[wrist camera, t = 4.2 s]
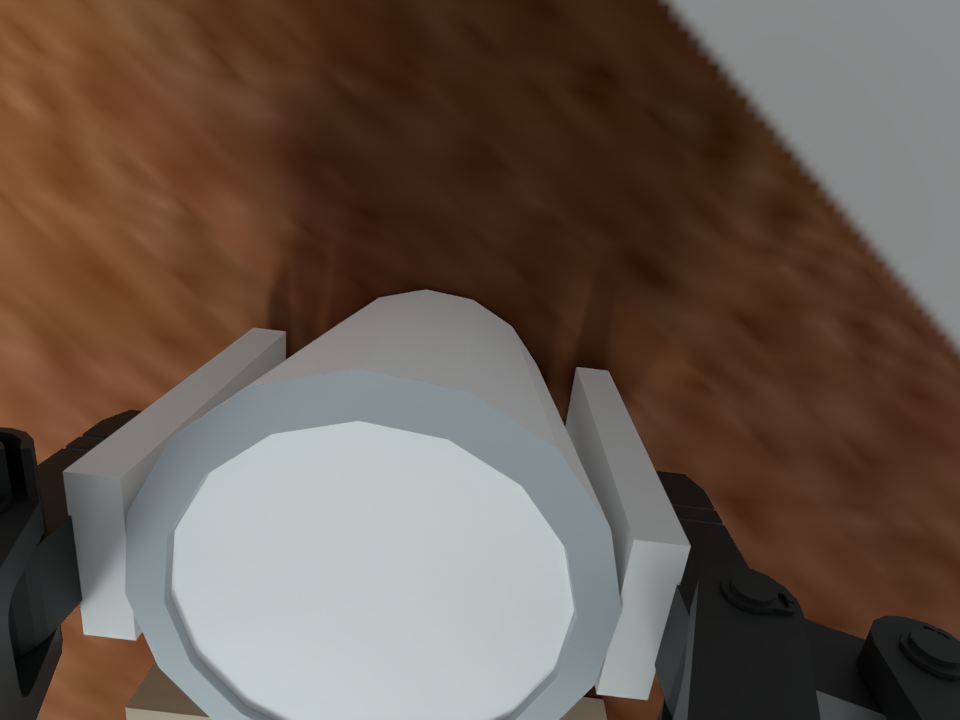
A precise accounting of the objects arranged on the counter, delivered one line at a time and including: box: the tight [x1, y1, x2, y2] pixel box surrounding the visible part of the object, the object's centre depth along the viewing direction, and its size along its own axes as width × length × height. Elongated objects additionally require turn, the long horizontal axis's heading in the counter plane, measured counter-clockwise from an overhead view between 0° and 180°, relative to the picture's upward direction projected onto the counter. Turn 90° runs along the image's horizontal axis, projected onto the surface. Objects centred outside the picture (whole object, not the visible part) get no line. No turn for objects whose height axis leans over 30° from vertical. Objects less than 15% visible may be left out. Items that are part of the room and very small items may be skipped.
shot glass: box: [125, 290, 622, 720], centre depth 12 cm, size 7×7×7 cm
